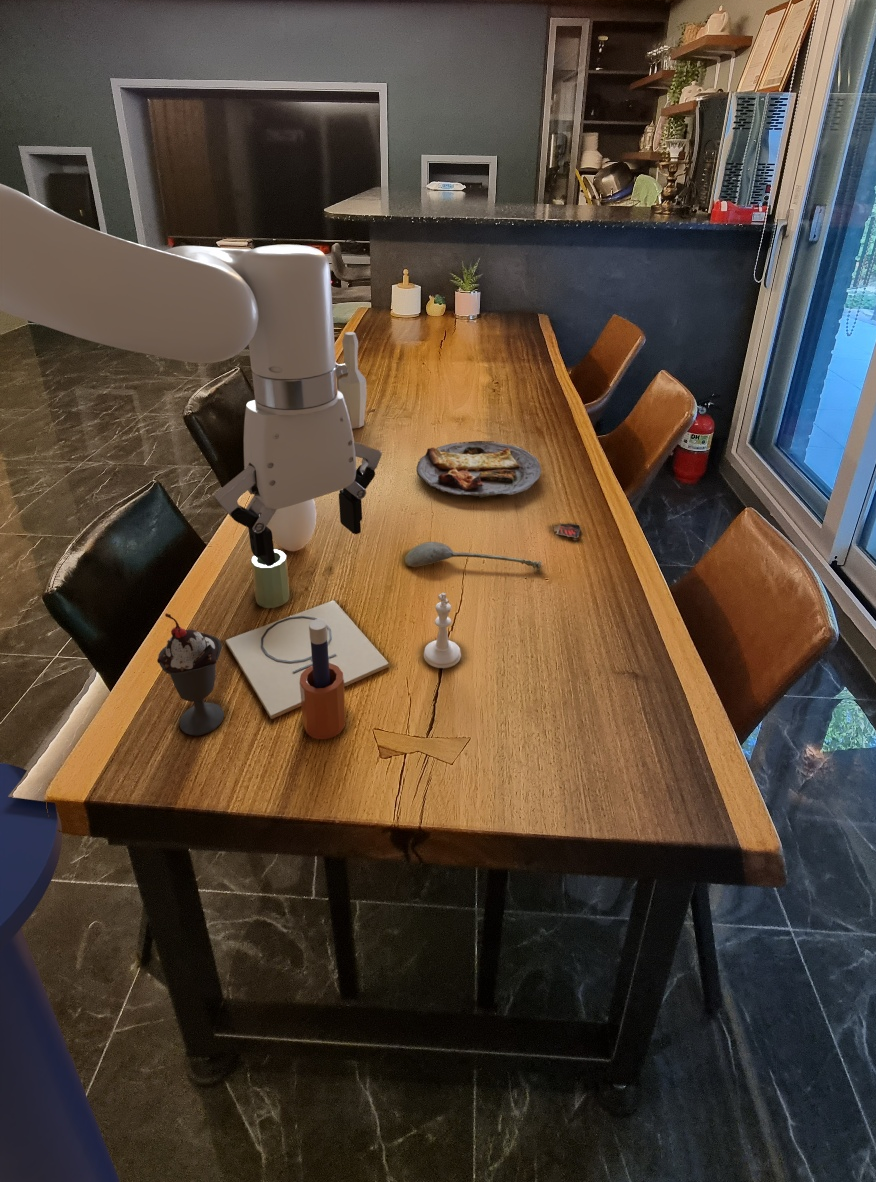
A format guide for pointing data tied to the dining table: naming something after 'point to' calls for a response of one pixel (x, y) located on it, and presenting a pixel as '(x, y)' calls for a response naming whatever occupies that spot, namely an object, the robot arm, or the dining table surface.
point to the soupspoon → (450, 555)
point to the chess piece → (442, 639)
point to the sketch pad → (301, 655)
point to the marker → (319, 653)
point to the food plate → (479, 468)
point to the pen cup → (271, 581)
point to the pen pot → (323, 704)
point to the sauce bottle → (293, 525)
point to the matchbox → (568, 530)
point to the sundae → (193, 676)
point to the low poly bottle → (353, 382)
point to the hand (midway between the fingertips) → (309, 543)
